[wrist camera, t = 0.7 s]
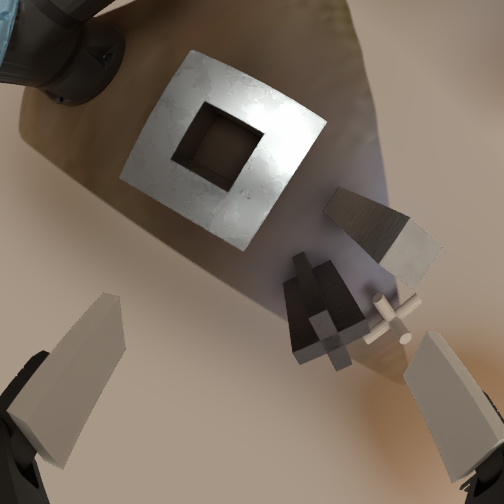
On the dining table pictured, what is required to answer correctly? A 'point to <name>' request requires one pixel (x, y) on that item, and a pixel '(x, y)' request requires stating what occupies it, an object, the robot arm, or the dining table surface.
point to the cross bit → (321, 313)
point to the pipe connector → (392, 318)
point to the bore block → (192, 133)
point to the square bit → (385, 235)
